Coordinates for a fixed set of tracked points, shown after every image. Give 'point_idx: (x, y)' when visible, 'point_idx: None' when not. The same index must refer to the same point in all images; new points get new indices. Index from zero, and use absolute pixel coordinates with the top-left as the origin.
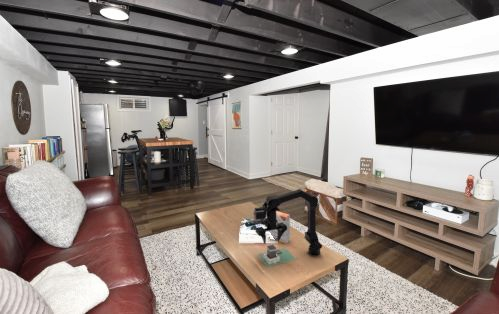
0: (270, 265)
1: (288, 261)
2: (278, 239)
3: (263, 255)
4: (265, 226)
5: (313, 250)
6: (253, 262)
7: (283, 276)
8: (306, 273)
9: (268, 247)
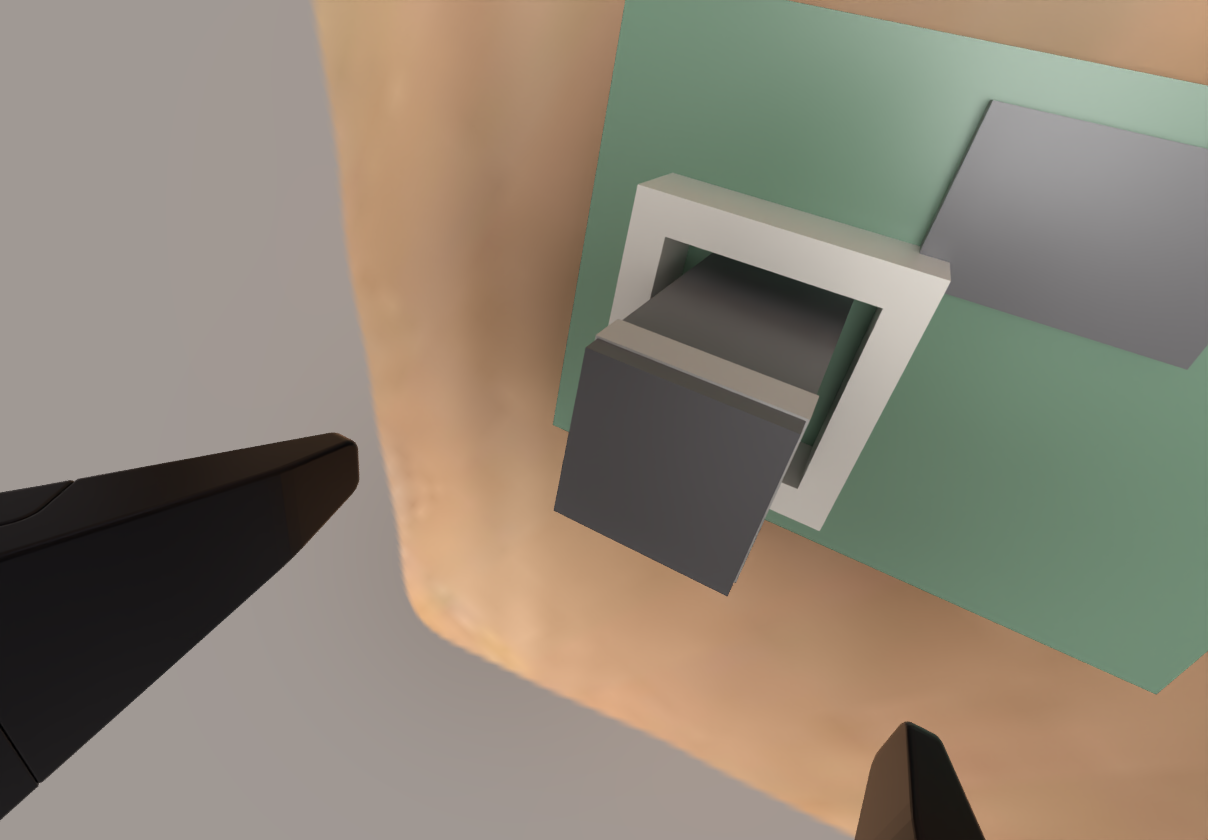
0: None
1: (946, 600)
2: (863, 834)
3: (650, 184)
4: None
5: None
6: (492, 119)
7: (641, 624)
8: None
9: (573, 424)
